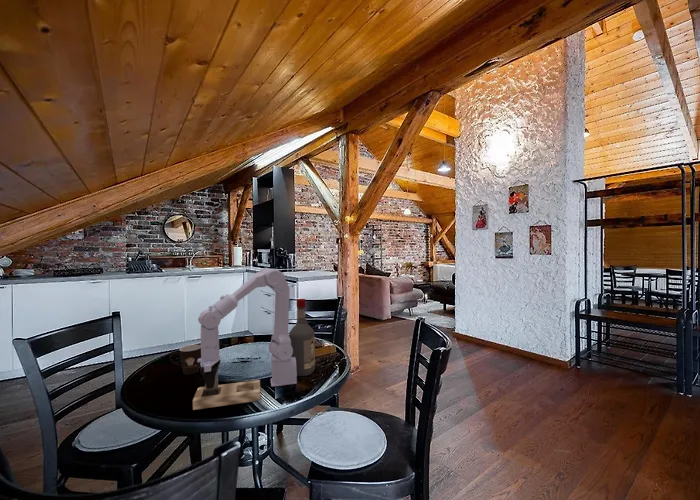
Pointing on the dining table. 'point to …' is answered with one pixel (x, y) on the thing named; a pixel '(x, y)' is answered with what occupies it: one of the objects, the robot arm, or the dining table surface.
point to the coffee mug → (189, 358)
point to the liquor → (303, 342)
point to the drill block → (228, 395)
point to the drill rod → (212, 390)
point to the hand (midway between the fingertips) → (211, 384)
